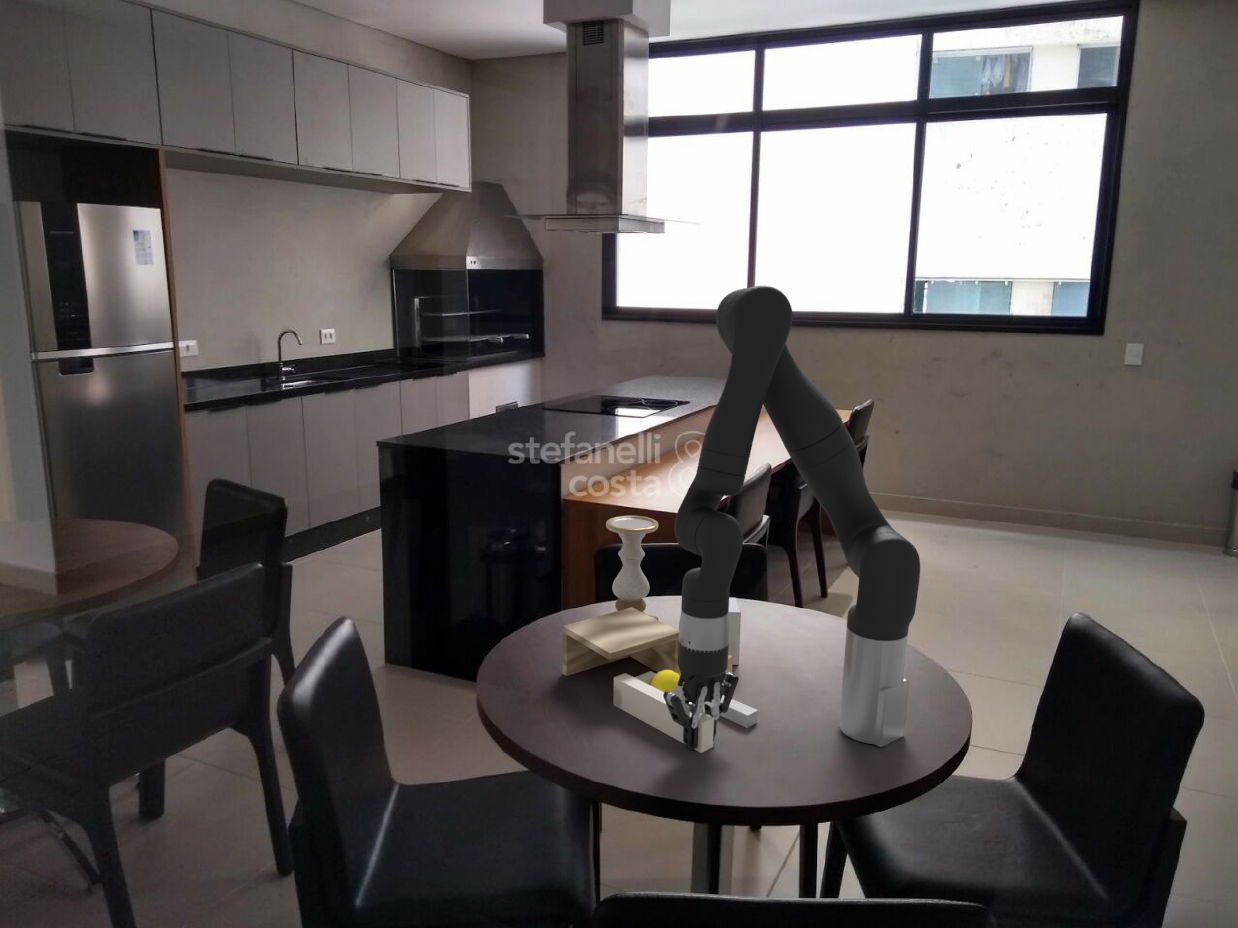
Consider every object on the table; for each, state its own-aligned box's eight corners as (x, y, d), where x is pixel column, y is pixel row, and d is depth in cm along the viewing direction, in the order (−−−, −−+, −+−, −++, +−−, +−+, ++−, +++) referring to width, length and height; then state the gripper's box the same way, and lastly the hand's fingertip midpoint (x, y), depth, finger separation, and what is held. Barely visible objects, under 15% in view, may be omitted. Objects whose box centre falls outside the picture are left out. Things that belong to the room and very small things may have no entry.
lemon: (672, 715, 146) (671, 686, 144) (643, 706, 149) (642, 679, 147) (690, 692, 152) (689, 665, 150) (662, 685, 154) (661, 658, 153)
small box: (739, 665, 164) (741, 612, 161) (708, 665, 164) (711, 611, 162) (734, 647, 172) (736, 596, 169) (705, 647, 172) (707, 596, 169)
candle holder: (595, 644, 172) (596, 526, 167) (611, 623, 182) (613, 512, 177) (649, 652, 169) (652, 532, 164) (663, 630, 179) (666, 517, 174)
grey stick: (757, 724, 143) (757, 710, 143) (747, 729, 141) (747, 715, 141) (691, 694, 153) (692, 681, 152) (681, 699, 151) (682, 685, 151)
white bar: (738, 734, 139) (739, 705, 138) (701, 752, 134) (702, 722, 133) (650, 689, 154) (650, 662, 153) (613, 704, 148) (613, 677, 147)
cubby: (679, 679, 158) (681, 631, 156) (609, 704, 148) (610, 653, 146) (631, 652, 169) (632, 607, 167) (562, 673, 159) (562, 625, 157)
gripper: (684, 658, 125) (680, 768, 129) (755, 636, 133) (749, 740, 137) (651, 640, 131) (648, 746, 134) (721, 620, 139) (716, 720, 143)
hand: (699, 742), depth 136 cm, fingers closed on white bar, 3 cm apart
